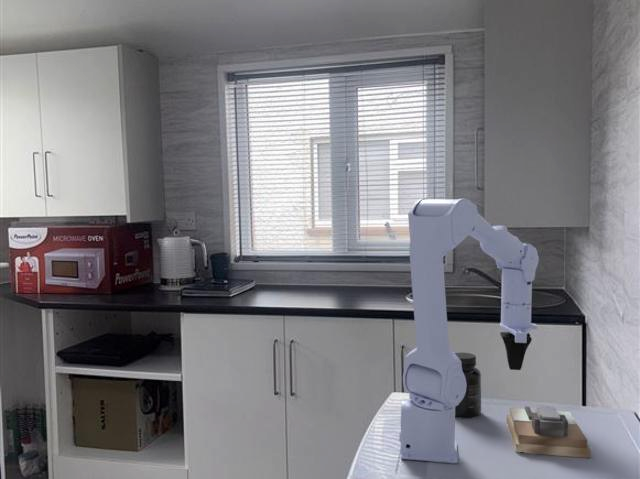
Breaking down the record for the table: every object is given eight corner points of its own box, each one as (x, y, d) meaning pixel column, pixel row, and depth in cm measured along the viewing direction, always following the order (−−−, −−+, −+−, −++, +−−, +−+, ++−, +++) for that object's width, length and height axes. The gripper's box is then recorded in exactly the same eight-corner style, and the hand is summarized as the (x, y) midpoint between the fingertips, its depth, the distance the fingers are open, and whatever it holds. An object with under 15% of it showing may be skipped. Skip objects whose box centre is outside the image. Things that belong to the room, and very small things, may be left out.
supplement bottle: (477, 406, 118) (478, 351, 117) (483, 419, 111) (484, 360, 110) (444, 405, 119) (445, 350, 118) (448, 418, 112) (449, 360, 111)
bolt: (541, 431, 98) (542, 416, 98) (536, 420, 103) (536, 405, 103) (559, 433, 97) (560, 417, 97) (554, 421, 102) (554, 406, 102)
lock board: (515, 452, 97) (516, 421, 97) (506, 422, 110) (507, 394, 110) (590, 458, 95) (591, 426, 95) (571, 426, 108) (572, 398, 107)
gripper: (544, 310, 104) (542, 381, 105) (531, 296, 118) (529, 359, 120) (504, 309, 106) (503, 379, 107) (496, 295, 120) (495, 357, 121)
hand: (514, 368), depth 113 cm, fingers closed
